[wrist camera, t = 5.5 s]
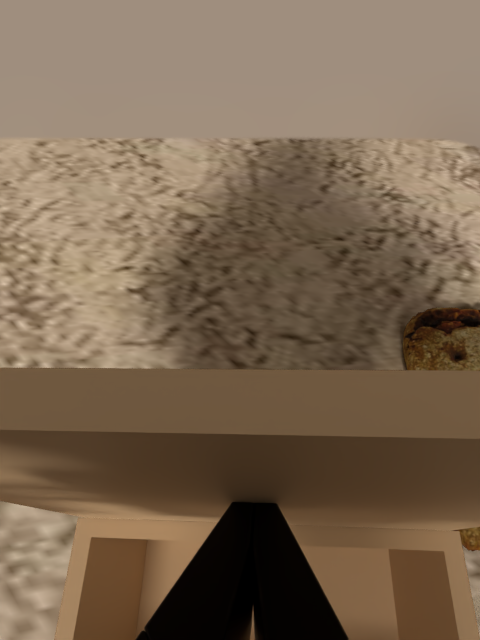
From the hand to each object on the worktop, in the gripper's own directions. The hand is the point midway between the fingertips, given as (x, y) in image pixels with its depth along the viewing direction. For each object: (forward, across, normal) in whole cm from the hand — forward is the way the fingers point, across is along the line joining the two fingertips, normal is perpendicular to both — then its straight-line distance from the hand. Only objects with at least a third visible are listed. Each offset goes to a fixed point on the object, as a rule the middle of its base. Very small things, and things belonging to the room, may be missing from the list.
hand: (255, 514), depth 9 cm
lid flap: (0, 0, 0) cm, 0 cm away
